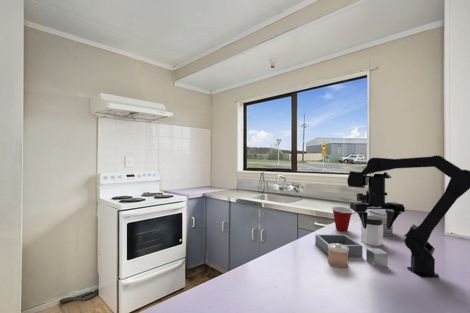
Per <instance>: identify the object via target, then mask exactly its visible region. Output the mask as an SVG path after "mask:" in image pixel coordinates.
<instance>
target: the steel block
mask: <svg viewBox="0 0 470 313" xmlns="http://www.w3.org/2000/svg"><path fill="white" fill-rule="evenodd" d="M388 256H389V253H387V252H386V251H384V250H382V249H381V248H378V247H377V248H375V247H374V248H373V247H372V248H371V247H369V248H368V247H366V258H365V259H366V260H365V261H366V262H367V263H369V264H370V265H371V266H372V267H373V268H388V261H389V260H388V258H389V257H388Z"/></svg>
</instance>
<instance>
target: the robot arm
mask: <svg viewBox="0 0 470 313" xmlns="http://www.w3.org/2000/svg"><path fill="white" fill-rule="evenodd" d="M410 168H411V169H413V168H414V169H415V168H436V169H437V170H438V171H440V172H441V173H442V174H444V175H445V176H447V177H448V178H450V179H449V181H448V184H447V186H446V189H445V191H444V193H443V194H442V195H441V196H440V198H439V199H438V201H437V202H436V203H435V205H434V206H433V208H432V209H431V210H430V211H429V213H428V214H427V215H426V217H425V218H424V219H423V220H422V222H421V223H420V224H419V225H415V224H412V225H411V226H410V228H409V230H408V231H407V232H406V233H405V234H404V235H403V236H404V237H405V238H404V241H403V242H404V245H405V247H406V248H408V250H410V253H411V254H410V266H407V267H406V268H407V269H408V270H409V271H411V272H413V273H414V274H415V275H418V276H419V277H422V278H426V277H427V278H433V277H434V278H437V277H440V275H439V273H436V272H435V269H436V266H435V265H436V264H435V262H436V259H435V258H434V252H435V250H436V248H435V247H434V246H433V245H432V244H431V243H430V242H429V239H430V237H431V236H432V232H433V231H434V229H435V228H436V227H437V226H438V224H439V223H440V222H441V220H442V219H443V218H444V217H445V215H446V214H447V212H449V210H450V209H451V208H452V207H453V205H454V204H455V203H456V201H457V200H458V199H459V198H460V197H462V195H464V194H465V193H467V192H468V191H469V190H470V170H469V169H462V168H460V167H459V166H457V165H455V164H454V163H452V162H450V161H449V160H447V159H445V157H443V156H441V155H432V156H421V157H420V156H418V157H407V158H406V157H405V158H404V157H403V158H387V157H386V158H385V157H371V158H369V159H368V160H367V162H366V166H365V168H364V169H363V170H362V171H355V170H350V171H349V174H348V177H347V181H346V182H347V186H348V187H349V188H357V189H358V188H359V189H364V188H365V187H367V186H368V189H367V190H366V192H365V193H366V194H364V193H362V192H359V193H356V201H351V202H350V204H349V209H351V210H353V212H355V213H357V214H358V216H359V220H360V222H361V223H362V225H363V227H364V228H365V229H366V227H367V216H369V215H368V213H369V212H368V211H367V210H369V209H384V210H385V211H386V214H387V229H390V228H391V226H392V224H393V225H394V222H395V220H397V218H398V217H399V215H402V213H405V212H406V207H405V206H404V204H403V203H398V202H395V201H393V202H392V201H391V202H389V201H388V202H386V196H388V192H386V179H392V176H391V175H390V174H389V173H388V172H387V171H391V170H394V169H410ZM380 172H381V173H380ZM382 172H383V173H382Z"/></svg>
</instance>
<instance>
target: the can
mask: <svg viewBox="0 0 470 313" xmlns="http://www.w3.org/2000/svg"><path fill="white" fill-rule="evenodd" d="M368 210H369V212H368V213H369V215H368V216H376V217H380V218H382V224H383V236H385V237H387V236H388V237H389V236H393V232H394V231H393V228H394V227H393V226H394V223H393V224H392V226H391V228H390V229H387V214H386V211H385V210H386V209H368Z"/></svg>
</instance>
